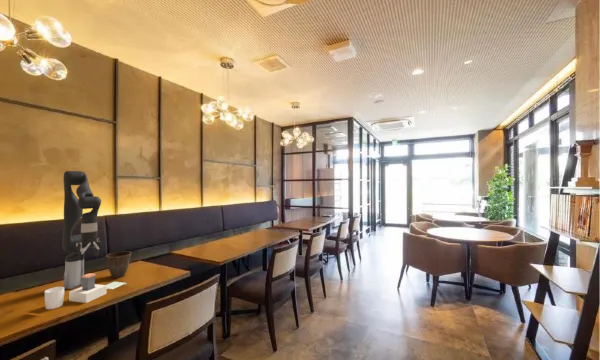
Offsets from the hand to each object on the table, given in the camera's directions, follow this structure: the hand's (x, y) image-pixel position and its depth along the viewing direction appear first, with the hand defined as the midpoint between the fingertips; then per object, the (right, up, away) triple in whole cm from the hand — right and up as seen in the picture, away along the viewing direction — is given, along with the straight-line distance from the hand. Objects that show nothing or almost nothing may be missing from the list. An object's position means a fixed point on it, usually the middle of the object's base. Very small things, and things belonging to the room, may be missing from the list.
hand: (88, 258), depth 149 cm
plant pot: (-7, -24, +35) cm, 43 cm away
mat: (+2, -24, +17) cm, 29 cm away
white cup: (-10, -24, -11) cm, 28 cm away
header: (0, -24, 0) cm, 24 cm away
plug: (0, -23, 0) cm, 23 cm away
